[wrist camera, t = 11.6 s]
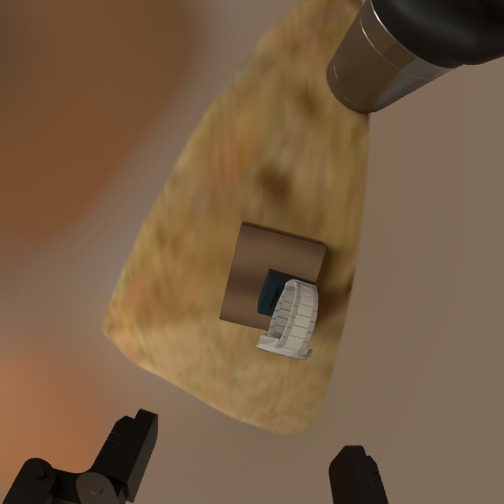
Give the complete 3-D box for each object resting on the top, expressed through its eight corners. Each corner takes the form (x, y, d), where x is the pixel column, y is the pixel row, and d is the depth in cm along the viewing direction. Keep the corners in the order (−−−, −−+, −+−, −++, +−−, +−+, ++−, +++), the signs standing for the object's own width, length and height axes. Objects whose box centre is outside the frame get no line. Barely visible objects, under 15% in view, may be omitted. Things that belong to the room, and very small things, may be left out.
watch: (252, 315, 33) (248, 370, 23) (274, 254, 32) (279, 289, 21) (295, 327, 34) (307, 383, 23) (319, 268, 32) (345, 308, 21)
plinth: (243, 221, 34) (241, 224, 31) (321, 241, 34) (327, 246, 31) (222, 308, 37) (219, 319, 34) (294, 325, 37) (296, 336, 34)
